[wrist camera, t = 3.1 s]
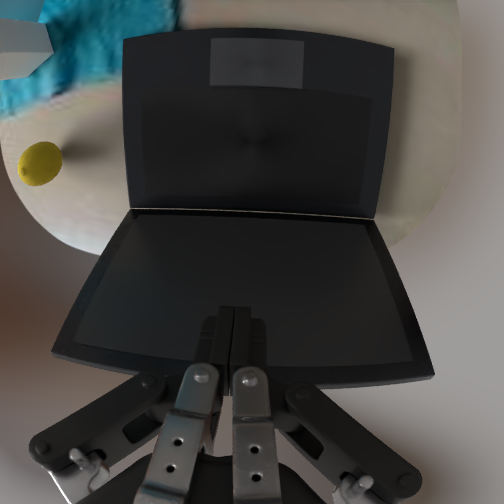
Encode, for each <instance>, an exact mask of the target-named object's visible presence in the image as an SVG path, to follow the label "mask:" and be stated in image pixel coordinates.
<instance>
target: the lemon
mask: <svg viewBox="0 0 504 504" xmlns="http://www.w3.org/2000/svg"><path fill="white" fill-rule="evenodd" d="M61 166H62V154H61V151H60V149H59V148H58V147H57V146H56V145H55V144H53V143H51V142H39V143H36V144H34V145H32V146H30V147H29V148H28V149H27V150H26V151H25V152H24V153H23V154H22V156H21V157H20V160H19V163H18V173H19V176H20V178H21V180H22V181H23V182H24V183H26V184H27V185H30V186H39V185H43V184H46V183H48V182H50V181H51V180H52V179H53V178H54V177H55V176H56V175H57V174H58V173H59V171H60V169H61Z"/></svg>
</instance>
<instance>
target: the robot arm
mask: <svg viewBox="0 0 504 504" xmlns="http://www.w3.org/2000/svg"><path fill="white" fill-rule="evenodd" d="M266 342H267V338H266V325H265V323H264V321H263V319H262V318H251V307H239V306H236V311H235V306H221V305H220V306H219V311H218V316H210V315H208V316H207V317H206V318H205V320H204V321H203V322H202V325H201V329H200V333H199V337H198V341H197V346H196V350H195V354H194V359H193V363H192V365H191V366H190V367H188V369H187V370H186V372H184V373H182V374H179V375H174V376H167V377H165V376H164V375H163V374H162V373H161V372H159V371H157V370H144V371H142V372H140V373H138V374H137V375H135V376H134V377H132V378H130V379H129V380H127V381H126V382H124V383H122V384H121V385H119V386H118V387H116V388H114V389H113V390H111V391H110V392H108V393H106V394H105V395H103V396H101V397H100V398H98V399H96V400H95V401H93V402H91V403H90V404H88V405H87V406H85V407H83V408H81V409H80V410H78V411H76V412H75V413H73V414H71V415H70V416H68V417H67V418H64V419H63V420H61V421H59V422H58V423H56V424H54V425H52V426H51V427H49V428H47V429H46V430H44V431H42V432H40V433H38V434H37V435H35V436H34V437H33V438H32V439H31V441H30V444H29V452H30V455H31V457H32V458H33V459H34V460H35V461H36V462H38V463H39V464H40V465H41V466H42V467H43V468H44V469H46V470H47V471H48V472H49V473H50V474H51V476H52V478H53V480H54V481H55V483H56V485H57V486H58V488H59V489H60V491H61V493H62V494H63V496H64V497H65V499H66V500H67V502H68V503H69V504H326V503H325V502H324V501H323V500H322V499H321V498H320V497H319V496H318V495H317V494H316V493H315V492H314V491H313V490H312V489H311V488H310V487H309V486H308V484H307V483H306V482H305V481H304V480H303V479H302V478H301V477H300V476H299V475H298V474H297V473H296V472H295V471H293V470H292V469H291V468H289V467H287V466H286V465H284V464H281V463H279V462H278V458H277V448H276V438H275V428H276V429H279V432H280V433H281V434H282V435H283V436H284V437H285V438H286V439H287V440H288V441H289V442H290V443H291V444H292V445H293V446H294V447H295V448H296V449H297V450H298V451H299V452H300V453H301V454H302V455H303V456H304V457H305V458H306V459H307V460H308V461H309V462H310V463H311V464H312V465H313V466H314V467H315V468H317V469H318V470H319V471H320V472H321V473H322V474H323V475H324V476H325V477H326V478H327V479H328V480H330V481H331V482H332V483H333V484H334V485H335V486H336V487H335V489H334V491H333V495H332V496H333V501H334V503H335V504H399V503H401V502H403V501H405V500H406V499H408V498H410V497H412V496H413V495H415V494H416V493H417V492H418V491H419V490H420V488H421V485H422V476H421V473H420V472H419V470H417V469H416V468H415V467H414V466H413V465H411V464H410V463H408V462H407V461H406V460H405V459H403V458H402V457H401V456H399V455H398V454H397V453H396V452H394V451H393V450H392V449H391V448H389V447H388V446H387V445H385V444H384V443H383V442H382V441H380V440H379V439H378V438H377V437H375V436H374V435H373V434H372V433H371V432H369V431H368V430H367V429H366V428H364V427H363V426H362V425H361V424H360V423H358V422H357V421H356V420H355V419H354V418H352V417H351V416H350V415H349V414H348V413H346V412H345V411H344V410H343V409H342V408H340V407H339V406H338V405H337V404H336V403H335V402H333V401H332V400H331V399H330V398H329V397H328V396H326V395H325V394H324V393H323V392H322V391H321V390H320V389H318V388H317V387H316V386H315V385H314V384H312V383H310V382H306V381H297V382H294V383H292V384H290V385H287V384H284V383H280V382H278V381H276V380H274V379H273V378H272V377H271V376H270V375H269V374H268V372H267V343H266ZM229 389H230V396H233V421H232V422H233V423H232V424H233V426H232V427H233V455H231V456H223V457H214V456H213V455H214V443H215V438H216V434H217V429H218V424H219V420H220V415H221V410H222V409H221V407H222V404H223V396H229ZM158 434H159V436H158V439H157V442H156V445H155V448H154V451H153V453H151V454H148V455H146V456H144V457H142V458H141V459H139V460H138V461H136V462H135V463H134V464H132V465H131V466H130V467H128V468H127V469H125V470H124V471H123V472H121V473H120V474H118V475H117V476H116V477H114V478H113V479H111V480H110V481H108V482H107V483H105V482H106V481H107V480H108V478H109V475H110V470H109V467H111V466H112V465H114V464H116V463H117V462H119V461H120V460H122V459H123V458H125V457H126V456H127V455H129V454H131V453H132V452H134V451H135V450H137V449H138V448H140V447H141V446H143V445H144V444H145V443H147V442H148V441H150V440H151V439H152V438H154V437H155V436H157V435H158ZM104 483H105V484H104ZM103 484H104V485H103Z"/></svg>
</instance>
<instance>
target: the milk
mask: <svg viewBox="0 0 504 504" xmlns="http://www.w3.org/2000/svg"><path fill="white" fill-rule="evenodd" d="M52 54H54V51H53V48H52V45H51V42H50V39H49V35H48V32H47V29H46V25H45V24H44V23H37V22H30V21H22V20H14V19H3V18H0V80H7V79H16V78H27V77H28V76H29V75H30V74H31V73H32V72H33V71H34V70H35V69H37V68H38V67H39V66H40V65H41V64H42V63H43V62H44V61H45V60H47V59H48V58H49V57H50V56H51V55H52Z"/></svg>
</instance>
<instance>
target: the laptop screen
mask: <svg viewBox="0 0 504 504" xmlns="http://www.w3.org/2000/svg"><path fill="white" fill-rule="evenodd" d="M220 305H221V306H235V311H236V306H239V307H251V318H262V319H263V321H264V323H265V325H266V338H267V342H266V343H267V372H268V374H269V375H270V376H271V377H272V378H273V379H274V380H276V381H278V382H280V383H284V384H287V385H290V384H292V383H294V382H297V381H306V382H310V383H312V384H314V385H315V386H316V387H317V388H318V389H341V388H358V387H371V386H380V385H381V386H382V385H390V384H399V383H407V382H414V381H422V380H428V379H431V378H432V377H433V376H434V375H435V372H434V369H433V366H432V362H431V359H430V356H429V353H428V350H427V347H426V344H425V341H424V338H423V335H422V332H421V329H420V327H419V324H418V321H417V318H416V316H415V313H414V310H413V308H412V305H411V303H410V300H409V297H408V295H407V292H406V290H405V288H404V285H403V283H402V280H401V278H400V276H399V273H398V271H397V269H396V266H395V264H394V262H393V260H392V257H391V255H390V253H389V251H388V249H387V246H386V244H385V242H384V240H383V238H382V236H381V234H380V232H379V230H378V228H377V226H376V223H375V221H374V220H367V219H355V218H342V217H328V216H313V215H297V214H280V213H260V212H238V211H211V210H171V209H130V210H129V212H128V213H127V215H126V216H125V218H124V219H123V221H122V222H121V224H120V225H119V227H118V228H117V230H116V231H115V233H114V235H113V236H112V238H111V239H110V241H109V243H108V244H107V246H106V248H105V249H104V251H103V252H102V254H101V256H100V258H99V259H98V261H97V263H96V264H95V266H94V268H93V270H92V271H91V273H90V275H89V277H88V278H87V280H86V282H85V284H84V286H83V287H82V289H81V291H80V293H79V295H78V297H77V299H76V300H75V303H74V304H73V306H72V308H71V310H70V312H69V314H68V316H67V318H66V320H65V322H64V324H63V326H62V328H61V330H60V333H59V335H58V337H57V339H56V341H55V343H54V345H53V348H52V350H51V353H52V355H53V356H54V357H56V358H59V359H63V360H67V361H70V362H74V363H78V364H82V365H86V366H90V367H95V368H100V369H104V370H109V371H113V372H118V373H123V374H128V375H134V376H135V375H137V374H138V373H140V372H142V371H144V370H157V371H159V372H161V373H162V374H163V375H164V376H165V377H167V376H174V375H179V374H182V373H184V372H186V370H187V369H188V367H190V366H191V365H192V363H193V359H194V354H195V350H196V346H197V341H198V337H199V333H200V329H201V325H202V322H203V321H204V320H205V318H206V317H207V316H208V315H210V316H218V311H219V306H220Z"/></svg>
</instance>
